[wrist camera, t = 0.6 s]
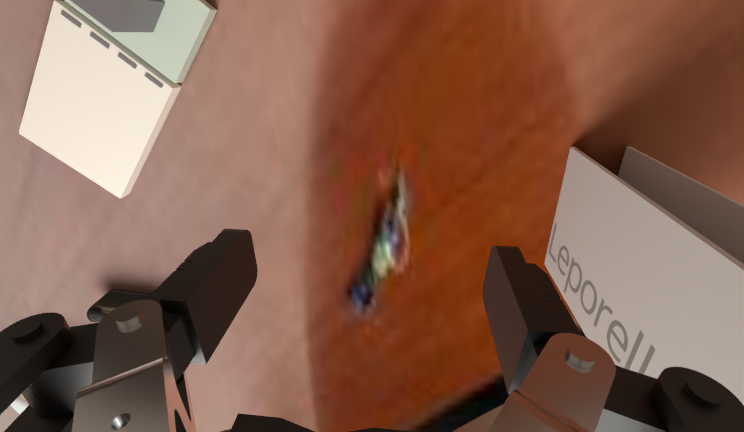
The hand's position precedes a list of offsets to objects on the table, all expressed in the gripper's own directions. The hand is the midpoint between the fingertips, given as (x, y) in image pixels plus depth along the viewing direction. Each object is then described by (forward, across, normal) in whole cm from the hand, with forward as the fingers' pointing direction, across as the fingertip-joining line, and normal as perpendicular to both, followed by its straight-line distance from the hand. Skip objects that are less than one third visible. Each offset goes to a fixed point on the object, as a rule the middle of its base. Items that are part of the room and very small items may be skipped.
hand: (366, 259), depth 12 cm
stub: (+26, +24, -9) cm, 36 cm away
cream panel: (+26, +32, +1) cm, 41 cm away
